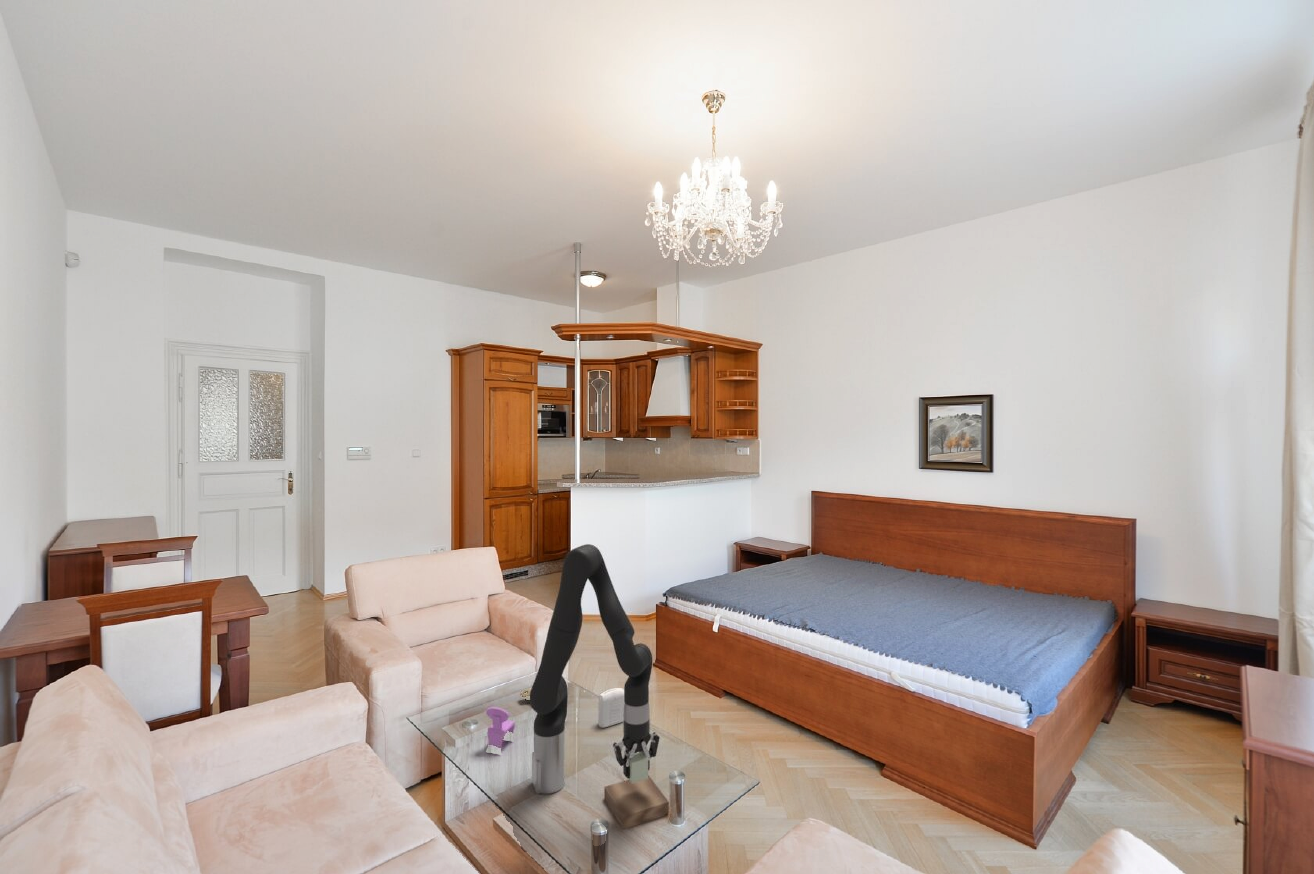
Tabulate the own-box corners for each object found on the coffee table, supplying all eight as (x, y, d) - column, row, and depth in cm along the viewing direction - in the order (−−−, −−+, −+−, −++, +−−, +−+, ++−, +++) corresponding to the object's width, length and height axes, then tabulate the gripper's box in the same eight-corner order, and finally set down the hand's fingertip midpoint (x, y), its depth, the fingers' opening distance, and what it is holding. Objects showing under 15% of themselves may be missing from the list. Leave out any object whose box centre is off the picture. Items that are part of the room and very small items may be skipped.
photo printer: (621, 716, 219) (621, 683, 218) (627, 721, 215) (627, 688, 215) (596, 724, 213) (596, 690, 213) (602, 729, 210) (602, 695, 209)
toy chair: (518, 742, 201) (518, 699, 201) (504, 756, 193) (504, 711, 192) (496, 738, 204) (496, 695, 203) (482, 752, 195) (482, 708, 195)
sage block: (632, 783, 166) (631, 762, 165) (625, 773, 170) (625, 753, 170) (648, 778, 168) (648, 758, 167) (641, 769, 172) (640, 749, 172)
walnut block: (623, 830, 160) (623, 816, 160) (604, 799, 172) (604, 786, 172) (668, 815, 166) (668, 801, 166) (647, 786, 179) (647, 773, 178)
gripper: (618, 728, 162) (618, 788, 162) (664, 716, 168) (664, 774, 169) (608, 715, 168) (608, 773, 169) (653, 704, 175) (653, 760, 175)
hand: (636, 773), depth 169 cm, fingers closed on sage block, 5 cm apart
